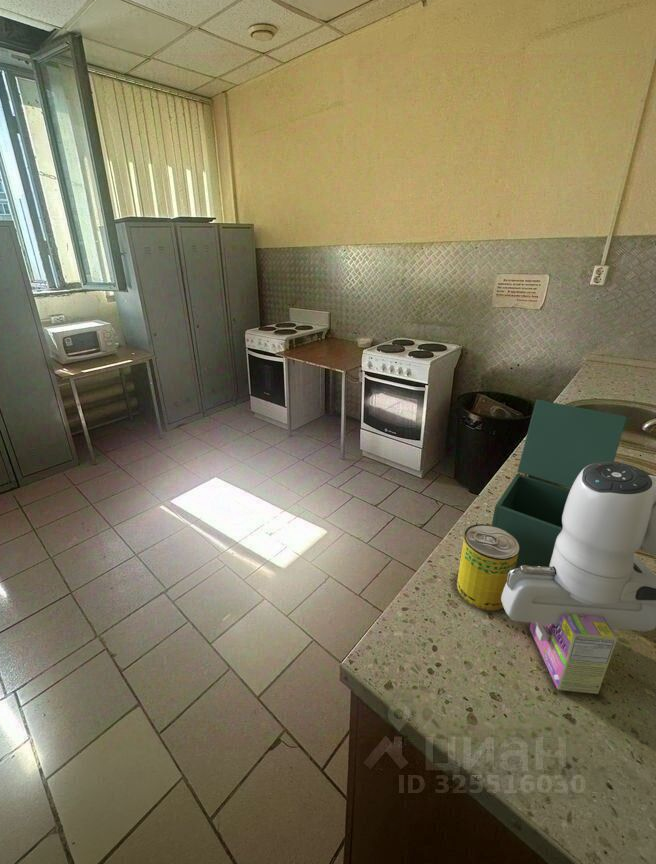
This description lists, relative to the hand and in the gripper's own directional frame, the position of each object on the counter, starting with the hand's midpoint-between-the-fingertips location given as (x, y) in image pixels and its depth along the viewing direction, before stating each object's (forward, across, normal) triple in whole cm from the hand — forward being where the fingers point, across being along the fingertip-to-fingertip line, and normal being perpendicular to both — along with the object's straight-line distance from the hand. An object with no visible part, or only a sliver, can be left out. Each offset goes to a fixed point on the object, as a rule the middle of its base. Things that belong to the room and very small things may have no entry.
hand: (566, 639), depth 61 cm
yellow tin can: (+5, -8, +13) cm, 16 cm away
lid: (-18, +12, +31) cm, 38 cm away
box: (+5, 0, 0) cm, 5 cm away
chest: (+5, +6, +23) cm, 24 cm away
